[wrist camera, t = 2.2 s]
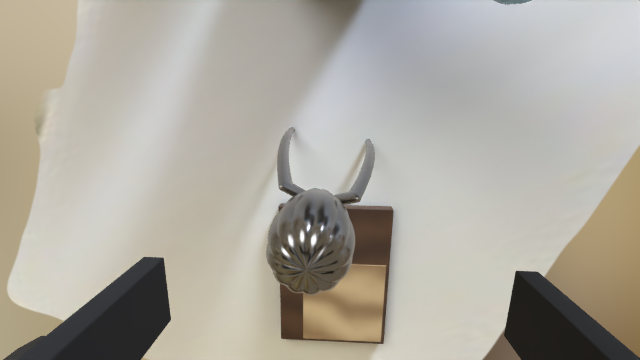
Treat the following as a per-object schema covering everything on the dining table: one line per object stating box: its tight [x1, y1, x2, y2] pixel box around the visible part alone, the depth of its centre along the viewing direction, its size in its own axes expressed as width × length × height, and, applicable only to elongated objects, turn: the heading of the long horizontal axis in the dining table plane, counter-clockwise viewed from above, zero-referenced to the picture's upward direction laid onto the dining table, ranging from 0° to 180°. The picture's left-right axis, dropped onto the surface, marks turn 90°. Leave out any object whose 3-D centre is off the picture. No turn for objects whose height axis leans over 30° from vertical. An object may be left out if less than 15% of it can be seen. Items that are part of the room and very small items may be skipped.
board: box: [279, 203, 393, 344], centre depth 47 cm, size 22×16×2 cm
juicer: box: [266, 127, 375, 295], centre depth 29 cm, size 10×11×30 cm
